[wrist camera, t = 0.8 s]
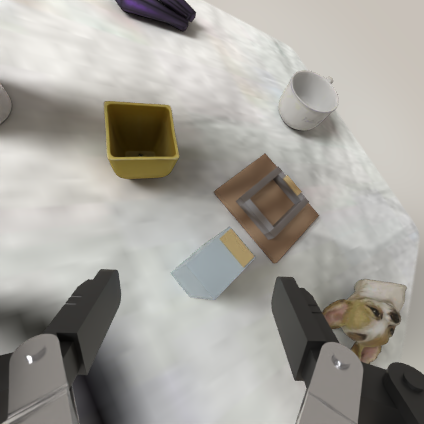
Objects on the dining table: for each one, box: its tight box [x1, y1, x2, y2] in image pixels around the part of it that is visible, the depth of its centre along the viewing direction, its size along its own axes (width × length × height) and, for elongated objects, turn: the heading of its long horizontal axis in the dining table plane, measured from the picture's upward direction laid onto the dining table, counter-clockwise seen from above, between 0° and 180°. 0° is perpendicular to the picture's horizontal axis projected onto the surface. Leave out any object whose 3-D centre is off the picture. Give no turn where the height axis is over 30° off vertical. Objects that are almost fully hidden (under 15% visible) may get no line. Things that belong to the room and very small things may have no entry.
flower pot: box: [104, 101, 179, 179], centre depth 34 cm, size 9×9×9 cm
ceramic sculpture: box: [322, 279, 407, 364], centre depth 37 cm, size 11×9×15 cm
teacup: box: [278, 70, 339, 130], centre depth 49 cm, size 14×11×8 cm
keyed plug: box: [171, 227, 256, 300], centre depth 29 cm, size 4×6×12 cm
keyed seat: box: [214, 154, 319, 263], centre depth 41 cm, size 16×14×3 cm
